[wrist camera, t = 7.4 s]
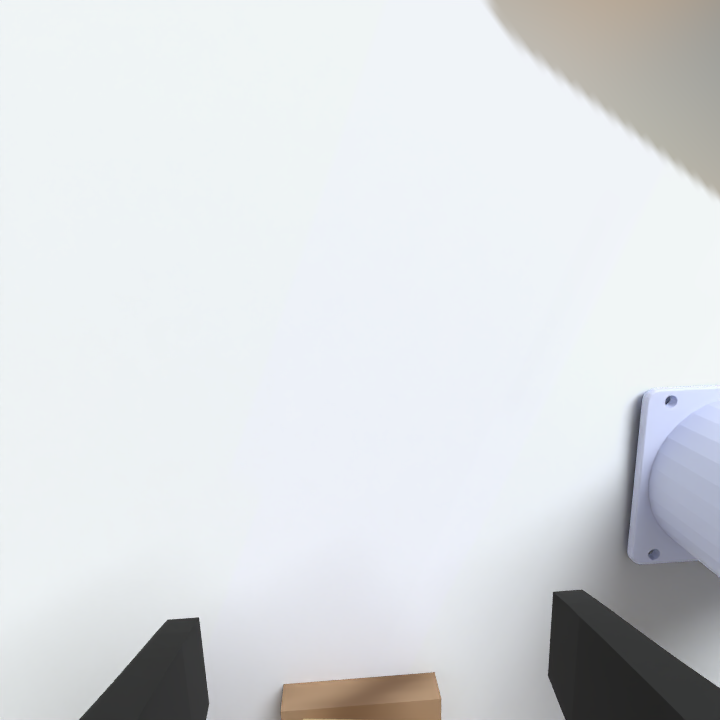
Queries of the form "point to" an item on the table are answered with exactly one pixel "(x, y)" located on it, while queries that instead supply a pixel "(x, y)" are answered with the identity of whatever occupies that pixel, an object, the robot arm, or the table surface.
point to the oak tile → (329, 719)
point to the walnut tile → (364, 699)
